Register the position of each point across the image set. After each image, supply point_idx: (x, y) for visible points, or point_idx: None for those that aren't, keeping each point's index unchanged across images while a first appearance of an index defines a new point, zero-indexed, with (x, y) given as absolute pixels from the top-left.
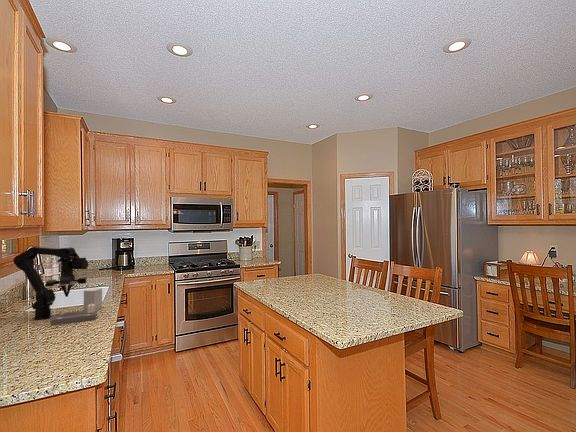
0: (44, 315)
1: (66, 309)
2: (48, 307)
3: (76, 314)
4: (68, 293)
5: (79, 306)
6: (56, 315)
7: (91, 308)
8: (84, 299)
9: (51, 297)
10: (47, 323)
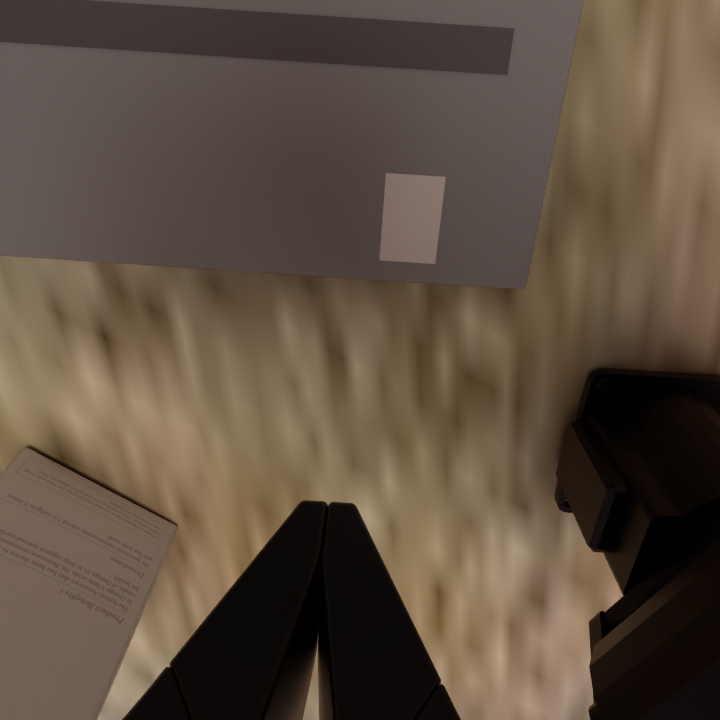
0: (656, 411)
1: None
2: (654, 509)
3: (134, 5)
4: (242, 574)
5: None
6: (510, 161)
7: None
8: (97, 669)
9: (714, 691)
10: (626, 46)
